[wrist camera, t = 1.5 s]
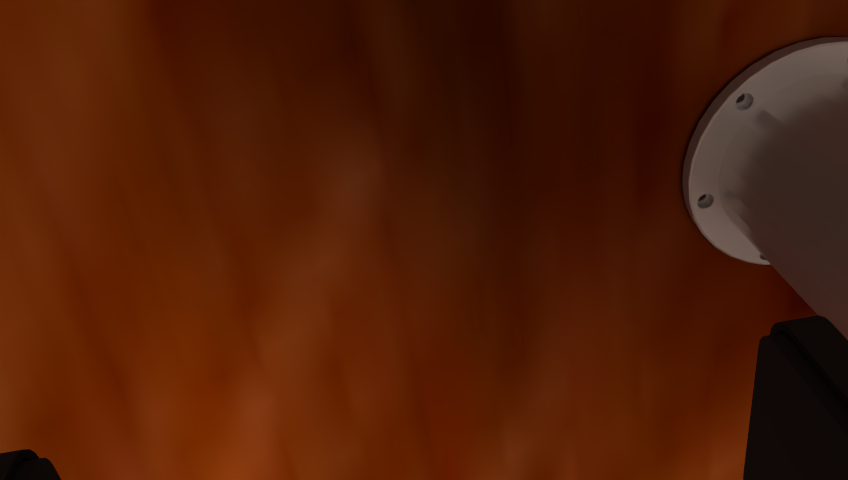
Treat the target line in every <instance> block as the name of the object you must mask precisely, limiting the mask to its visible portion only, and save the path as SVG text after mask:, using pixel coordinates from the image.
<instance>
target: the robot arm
mask: <svg viewBox="0 0 848 480" xmlns="http://www.w3.org/2000/svg"><path fill="white" fill-rule="evenodd" d="M739 96H740V97H739ZM738 97H739V98H738ZM682 186H683V193H684V200H685V204H686V207H687V209H688V212H689V214H690V217H691V219H692V221H693V222H694V223H695V225H696V226H697V227H698V229H699V230H700V231H701V233H702V234H703V235H704V236H705V237H706V238H707V239H708V240H709V241H710V243H711V244H712V245H713V246H714V247H716V248H717V249H719V250H720V251H722V252H724V253H725V254H727V255H728V256H730V257H733V258H736V259H739V260H742V261H744V262H748V263H754V264H760V265H772V266H773V267H774V268H775V269H776V270H777V272H778V273H779V274H780V275H781V276H782V277H783V278H784V279H785V280H786V281H787V282H788V283H789V284H790V286H791V287H792V288H793V289H794V290H795V291H796V292H797V293H798V294H799V295H800V296H801V297H802V298H803V300H804V301H805V302H806V303H807V304H808V305H809V306H810V307H811V308H812V309H813V310H814V311H815V312H816V314H817V315H818V316H813V317H807V318H801V319H795V320H790V321H784V322H778V323H775V324H774V325H773V327H772V328H771V332H770V335H768V336H764V337H762V338H761V339H760V342H759V348H758V356H757V365H756V373H755V381H754V390H753V398H752V407H751V415H750V424H749V432H748V441H747V449H746V458H745V466H744V476H743V480H848V37H823V38H818V39H813V40H808V41H803V42H799V43H796V44H793V45H791V46H788V47H786V48H783V49H780V50H778V51H775V52H773V53H772V54H770V55H768V56H766V57H765V58H763V59H761V60H760V61H758V62H756V63H754V64H753V65H751V66H750V67H749V68H747V69H746V70H745V71H744V72H742V73H741V74H740V75H739V76H737V77H736V78H735V79H734V80H732V81H731V82H730V83H729V84H728V85H727V87H726V88H725V89H724V90H723V91H722V92H721V93H720V94H719V95H718V96H717V97H716V98H715V99H714V101H713V102H712V103H711V105H710V106H709V108H708V109H707V111H706V112H705V114H704V115H703V117H702V118H701V120H700V121H699V123H698V125H697V127H696V129H695V132H694V134H693V136H692V138H691V140H690V142H689V146H688V149H687V153H686V157H685V161H684V165H683V180H682ZM0 480H61V479H60V477H59V475H58V473H57V471H56V470H55V468H54V466H53V464H52V463H51V462H50V461H49V460H48V459H46V458H40V459H39V457H38V456H37V455H36V453H35V452H33V451H31V450H30V449H26V450H19V451H13V452H7V453H1V454H0Z"/></svg>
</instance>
